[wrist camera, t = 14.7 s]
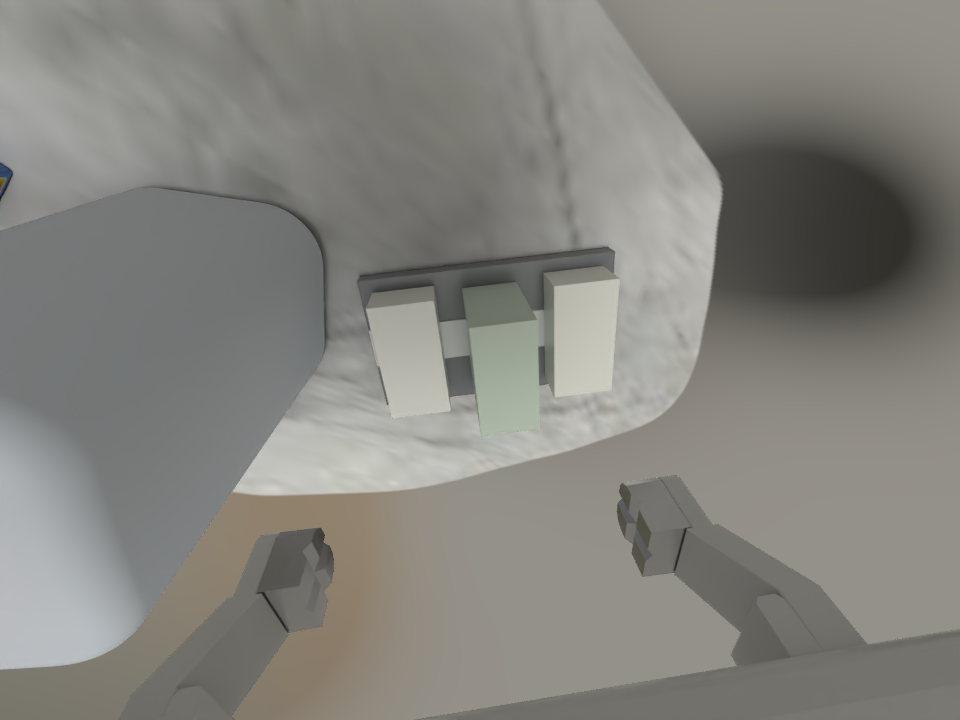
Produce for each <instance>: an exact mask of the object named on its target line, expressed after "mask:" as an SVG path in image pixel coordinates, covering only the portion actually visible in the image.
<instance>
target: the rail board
mask: <svg viewBox="0 0 960 720" xmlns="http://www.w3.org/2000/svg"><path fill="white" fill-rule="evenodd" d="M614 258H615V251H613V250H612V249H610V248H609V247H606V248H597V249H589V250H580V251H572V252H563V253H554V254H546V255H537V256H529V257H520V258H512V259H503V260H494V261H486V262H477V263H469V264H460V265H451V266H443V267H434V268H426V269H417V270H408V271H400V272H391V273H383V274H374V275H365V276H360V277H359V279H358V281H357V283H358V287H359V291H360V295H361V299H362V304H363V308H364V312H365V316H366V320H367V324H368V328H369V335H370V339H371V343H372V347H373V351H374V355H375V359H376V363H377V367H378V369H379V374H380V378H381V382H382V386H383V390H384V394H385V398H386V402H387V405H389V408H390V412H391V416H392V419H393V418H401V417H408V416H416V415H424V414H431V413H439V412H447V411H451V407H450V397H452V396H460V395H467V394H475V393H474V386H473V379H472V371H471V362H470V353H469V345H468V336H467V327H466V319H465V310H464V301H463V292H462V288H468V287H476V286H485V285H493V284H502V283H510V282H517V284H518V286H519V287H520V289H521V291H522V293H523V295H524V296H525V298H526V300H527V302H528V304H529V305H530V307H531V309H532V311H533V313H534V314H535V316H536V318H537V320H538V363H539V385H545V384H549V386H550V389H551V391H552V393H553V395H554V397H562V396H569V395H577V394H584V393H592V392H600V391H607V390H611V387H612V374H613V361H614V348H615V335H616V322H617V309H618V296H619V283H620V278H618V277H617V276H616V275H614V274H613V273H614Z"/></svg>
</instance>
